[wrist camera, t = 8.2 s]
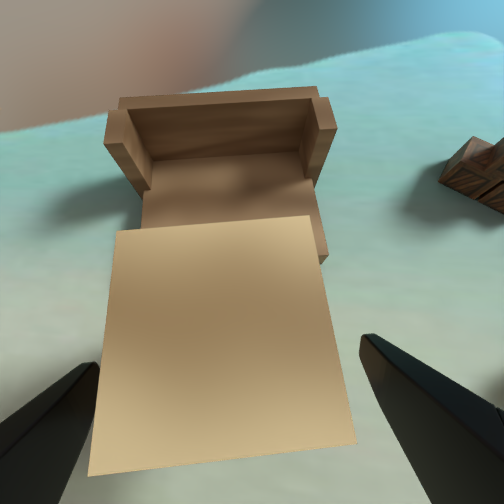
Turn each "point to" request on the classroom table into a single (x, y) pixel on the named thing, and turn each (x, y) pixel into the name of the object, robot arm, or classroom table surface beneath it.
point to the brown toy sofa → (224, 155)
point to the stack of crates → (478, 172)
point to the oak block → (217, 348)
